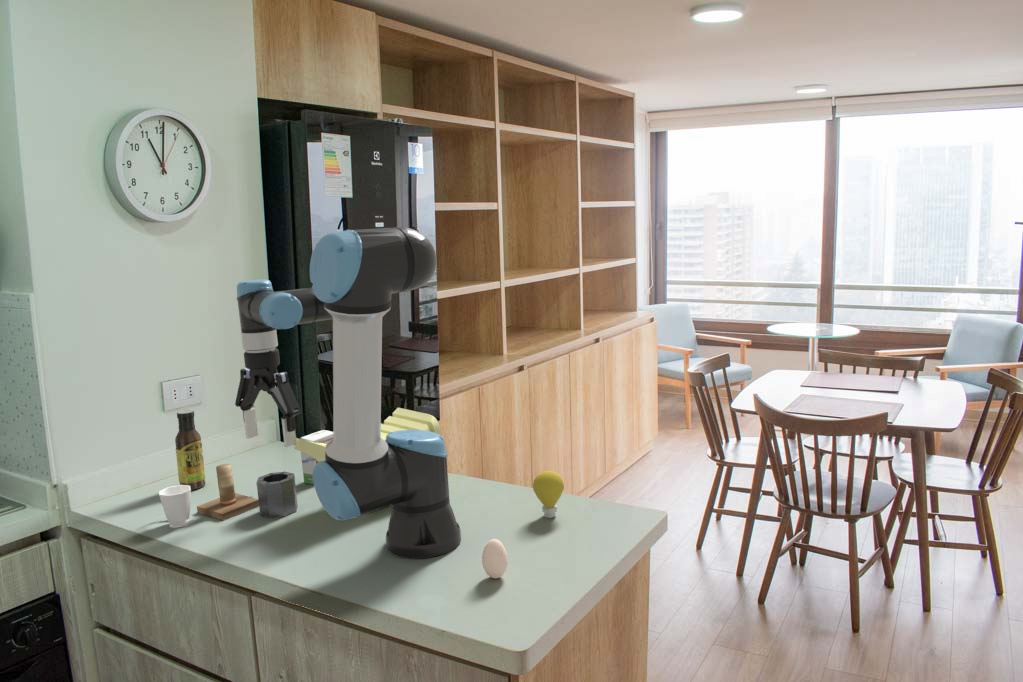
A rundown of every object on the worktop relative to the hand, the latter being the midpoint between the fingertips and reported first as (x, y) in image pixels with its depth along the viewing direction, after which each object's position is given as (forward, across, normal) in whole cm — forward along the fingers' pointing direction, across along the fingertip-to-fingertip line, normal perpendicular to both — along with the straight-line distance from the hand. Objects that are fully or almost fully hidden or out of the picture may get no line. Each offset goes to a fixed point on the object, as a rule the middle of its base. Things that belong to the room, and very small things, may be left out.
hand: (270, 441), depth 182 cm
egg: (+16, -64, +2) cm, 66 cm away
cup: (+17, +16, +16) cm, 28 cm away
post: (+17, +12, +5) cm, 21 cm away
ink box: (+17, +8, -20) cm, 27 cm away
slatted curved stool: (+17, -15, -16) cm, 28 cm away
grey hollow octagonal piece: (+17, 0, 0) cm, 17 cm away
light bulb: (+16, -57, -27) cm, 66 cm away
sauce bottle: (+17, +34, 0) cm, 38 cm away
